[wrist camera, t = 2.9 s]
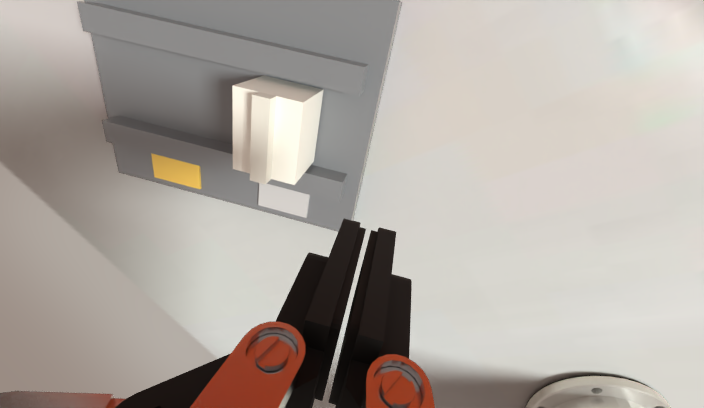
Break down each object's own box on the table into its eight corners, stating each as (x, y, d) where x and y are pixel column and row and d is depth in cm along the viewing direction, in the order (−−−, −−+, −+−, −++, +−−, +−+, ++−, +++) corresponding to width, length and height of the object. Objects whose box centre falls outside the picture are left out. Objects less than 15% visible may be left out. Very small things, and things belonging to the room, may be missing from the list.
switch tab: (323, 89, 21) (298, 105, 17) (313, 161, 23) (289, 190, 19) (263, 75, 21) (224, 87, 17) (260, 147, 24) (225, 174, 19)
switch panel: (402, 2, 20) (397, -2, 17) (353, 221, 28) (344, 245, 25) (99, -62, 21) (45, -76, 18) (136, 163, 29) (103, 179, 26)
